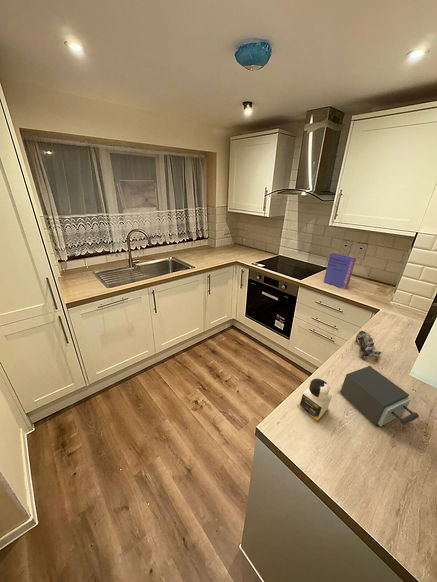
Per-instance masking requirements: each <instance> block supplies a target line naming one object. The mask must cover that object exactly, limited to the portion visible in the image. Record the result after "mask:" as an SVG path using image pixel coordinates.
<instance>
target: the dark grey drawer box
mask: <svg viewBox="0 0 437 582" xmlns="http://www.w3.org/2000/svg"><path fill="white" fill-rule="evenodd" d="M339 393H340V395H342V396H343V397H344V398H345V399H346V400H347V401H348V402H349V403H350V404H351V405H352V406H353V407H354V408H355V409H356V410H358V411H359V412H360V414H362V415H363V416H364V417H365V418H366V419H367V420H368V421H369V422H370V423H372V424H373V426H377V425H378V424H377V423H378V421H379V419H380V417H381V415H382V413H383V411H384V408H385V407H387V406H389V405H391V404H393V403H395V402H397V401H400V400H402V399H404V398H406V397H408V398H409V396H410V394H409V393H408V392H407V391H405V390H404V389H402V388H401V387H399V386H398V385H397V384H396V383H394V382H392V380H391V379H389V378H387V377H386V376H385V375H384V374H382V373H381V372H380V371H378V370H376V369H375V368H374V367H372V366H371V365H368V366H365V367H362V368H360V369H356V370H354V371H351V372H349V373H346V375H345V377H344V380H343V382H342V385H341V388H340V392H339Z"/></svg>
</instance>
